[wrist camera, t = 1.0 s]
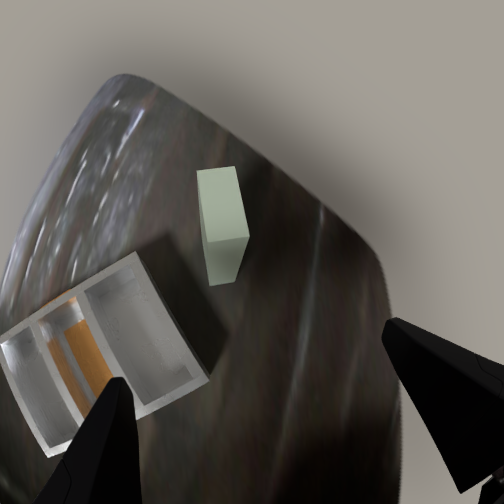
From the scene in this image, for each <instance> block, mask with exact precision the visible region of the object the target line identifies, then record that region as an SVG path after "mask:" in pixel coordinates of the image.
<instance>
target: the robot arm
mask: <svg viewBox="0 0 504 504" xmlns="http://www.w3.org/2000/svg"><path fill="white" fill-rule="evenodd" d="M382 343H383V345H384V347H385V349H386V351H387V354H388V356H389V358H390V360H391V362H392V365H393V367H394V369H395V371H396V373H397V375H398V377H399V379H400V381H401V382H402V384H403V386H404V387H405V389H406V391H407V392H408V394H409V396H410V398H411V400H412V401H413V403H414V405H415V407H416V409H417V410H418V412H419V414H420V416H421V418H422V420H423V421H424V423H425V425H426V427H427V429H428V431H429V433H430V434H431V436H432V438H433V440H434V442H435V444H436V446H437V448H438V450H439V452H440V454H441V456H442V458H443V460H444V462H445V464H446V466H447V468H448V470H449V472H450V474H451V476H452V478H453V480H454V482H455V485H456V487H457V489H458V491H459V493H460V494H462V493H463V492H465V491H467V490H468V489H470V488H472V487H473V486H475V485H476V484H478V483H479V482H481V481H482V480H484V479H485V478H487V477H488V476H490V475H491V474H492V477H491V478H490V479H489V480H488V481H487V482H486V483H485V484H484V485H483V486H482V489H481V494H480V498H479V502H478V504H504V365H502V364H499V363H497V362H494V361H492V360H489V359H487V358H485V357H482V356H480V355H478V354H474V352H471V351H469V350H467V349H465V348H463V347H461V346H458V345H456V344H454V343H452V342H450V341H448V340H445V339H443V338H441V337H439V336H437V335H435V334H432V333H430V332H428V331H426V330H424V329H421V328H419V327H417V326H415V325H413V324H411V323H409V322H406V321H404V320H402V319H400V318H397V317H395V318H392V319H389V320H387V321H386V323H385V326H384V330H383V333H382ZM62 458H63V459H61V460H60V462H59V463H58V465H57V467H56V469H55V470H54V472H53V474H52V475H51V477H50V479H49V480H48V482H47V483H46V484H45V486H44V487H43V489H42V490H41V492H40V493H39V494H38V496H37V497H36V499H35V500H34V501H33V503H32V504H142V495H141V483H140V466H139V440H138V430H137V423H136V415H135V406H134V397H133V393H132V391H131V389H130V387H129V385H128V384H127V382H126V380H125V379H124V378H123V377H112V378H110V380H109V381H108V383H107V384H106V386H105V387H104V389H103V391H102V392H101V394H100V395H99V397H98V398H97V400H96V402H95V403H94V405H93V406H92V408H91V410H90V411H89V413H88V415H87V416H86V418H85V419H84V421H83V423H82V424H81V426H80V428H79V429H78V431H77V433H76V434H75V436H74V438H73V439H72V441H71V443H70V445H69V446H68V448H67V450H66V451H65V453H64V455H63V457H62Z"/></svg>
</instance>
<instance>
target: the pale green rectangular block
mask: <svg viewBox="0 0 504 504" xmlns="http://www.w3.org/2000/svg"><path fill="white" fill-rule="evenodd" d="M197 181H198V196H199V209H200V221H201V233H202V242H203V248H204V255H205V261H206V267H207V273H208V279H209V284H210V286H213V285H219V284H225V283H231V282H235V279H236V276H237V273H238V270H239V267H240V264H241V261H242V258H243V255H244V252H245V249H246V246H247V243H248V240H249V237H250V235H249V231H248V226H247V221H246V217H245V212H244V207H243V203H242V198H241V193H240V189H239V184H238V179H237V175H236V170H235V166H233V167H224V168H216V169H208V170H200V171H197Z"/></svg>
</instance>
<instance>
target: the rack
mask: <svg viewBox="0 0 504 504" xmlns="http://www.w3.org/2000/svg"><path fill="white" fill-rule="evenodd" d="M0 363H1V365H2V368H3V371H4V373H5V376H6V378H7V381H8V383H9V385H10V388H11V390H12V392H13V394H14V397H15V399H16V401H17V403H18V405H19V407H20V409H21V411H22V413H23V415H24V417H25V419H26V421H27V423H28V425H29V427H30V428H31V430H32V432H33V434H34V436H35V437H36V439H37V441H38V442H39V444H40V446H41V447H42V449H43V451H44V452H45V454H46V455H47V457H51V456H54V455H56V454H59V453H62V452H64V451H66V450H67V448H68V446H69V445H70V443H71V441H72V439H73V438H74V436H75V434H76V433H77V431H78V429H79V428H80V426H81V424H82V423H83V421H84V419H85V418H86V416H87V415H88V413H89V411H90V410H91V408H92V406H93V405H94V403H95V402H96V400H97V398H98V397H99V395H100V394H101V392H102V391H103V389H104V387H105V386H106V384H107V383H108V381H109V380H110V378H112V377H123V378H124V379H125V380H126V382H127V384H128V385H129V387H130V389H131V391H132V393H133V397H134V406H135V415H136V420H137V419H139V418H141V417H143V416H145V415H147V414H149V413H151V412H153V411H155V410H157V409H159V408H161V407H163V406H165V405H167V404H169V403H171V402H173V401H174V400H176V399H178V398H180V397H182V396H184V395H186V394H187V393H189V392H191V391H193V390H195V389H196V388H198V387H200V386H202V385H203V384H205V383H207V382H209V381H210V374H209V372H208V371H207V369H206V368H205V366H204V365H203V363H202V361H201V360H200V358H199V357H198V355H197V354H196V352H195V350H194V349H193V347H192V345H191V344H190V342H189V341H188V339H187V337H186V336H185V334H184V332H183V331H182V329H181V327H180V325H179V324H178V322H177V320H176V319H175V317H174V315H173V313H172V312H171V310H170V308H169V306H168V304H167V303H166V301H165V299H164V297H163V295H162V294H161V292H160V290H159V288H158V286H157V284H156V282H155V281H154V279H153V277H152V275H151V273H150V271H149V269H148V267H147V265H146V264H145V263H144V262H143V260H142V259H141V258H140V256H139V255H138V254H137V253H136V251H135V252H133V253H131V254H129V255H128V256H126V257H124V258H123V259H121V260H119V261H117V262H116V263H114V264H112V265H111V266H109V267H107V268H105V269H104V270H102V271H100V272H99V273H97V274H95V275H94V276H92V277H90V278H89V279H87V280H86V281H84V282H82V283H81V284H79V285H77V286H76V287H74V288H73V289H69V290H67V291H66V292H64V293H63V294H61V295H60V296H58V297H56V298H55V299H53V300H52V301H50V302H49V303H47V304H46V305H44V306H43V307H41V308H40V310H38V311H37V312H35V313H34V314H32V315H31V316H29V317H28V318H26V319H25V320H23V321H22V322H20V323H19V324H18V325H16V326H15V327H13V328H12V329H10V330H9V331H7V332H6V333H5V334H3V335H2V336H0Z"/></svg>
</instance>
